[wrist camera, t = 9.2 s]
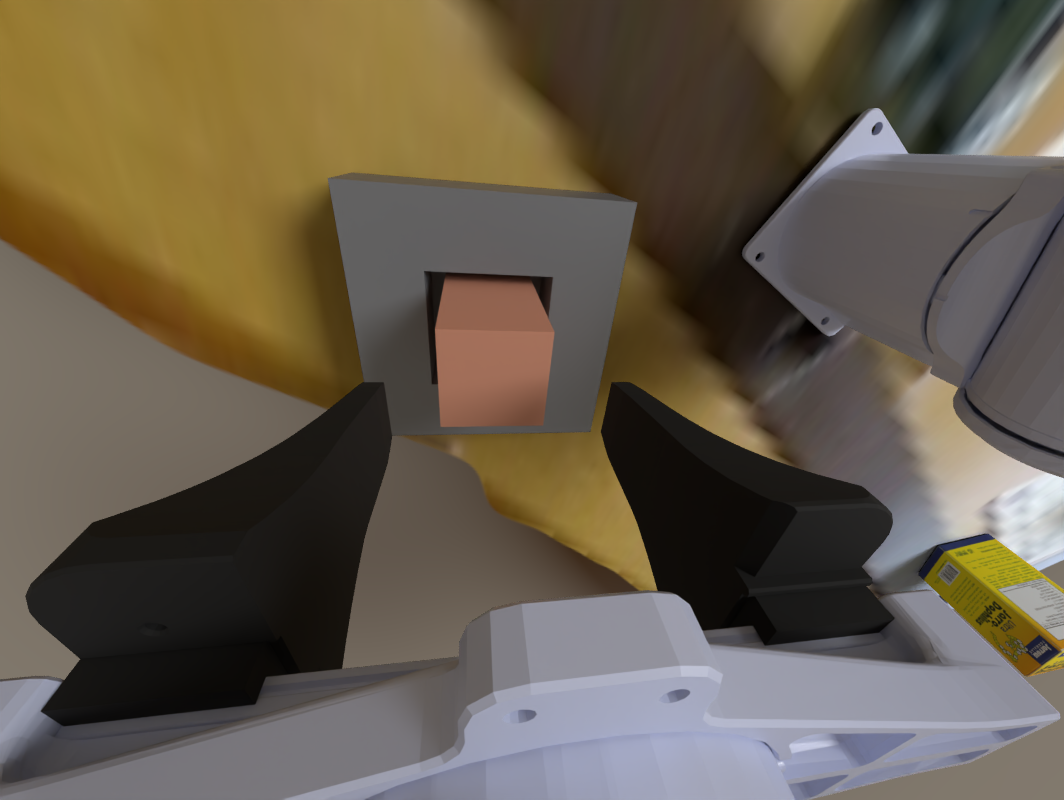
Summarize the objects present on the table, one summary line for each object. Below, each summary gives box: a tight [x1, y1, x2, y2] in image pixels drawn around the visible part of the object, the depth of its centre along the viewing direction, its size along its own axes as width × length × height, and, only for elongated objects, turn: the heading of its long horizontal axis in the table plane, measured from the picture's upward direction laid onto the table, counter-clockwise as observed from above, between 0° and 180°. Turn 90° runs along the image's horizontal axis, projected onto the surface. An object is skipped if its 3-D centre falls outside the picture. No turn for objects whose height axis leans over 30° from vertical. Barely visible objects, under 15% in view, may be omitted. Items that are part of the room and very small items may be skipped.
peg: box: [435, 272, 555, 427], centre depth 17 cm, size 4×4×8 cm
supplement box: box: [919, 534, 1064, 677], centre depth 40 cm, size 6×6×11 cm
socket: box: [328, 173, 637, 436], centre depth 20 cm, size 12×12×4 cm
